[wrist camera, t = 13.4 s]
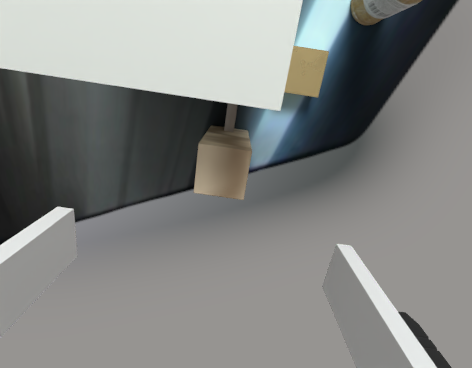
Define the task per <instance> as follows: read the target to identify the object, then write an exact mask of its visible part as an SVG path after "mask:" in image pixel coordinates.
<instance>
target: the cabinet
mask: <svg viewBox="0 0 472 368" xmlns="http://www.w3.org/2000/svg"><path fill="white" fill-rule="evenodd" d="M302 1H303V0H0V68H4V69H10V70H17V71H23V72H30V73H36V74H43V75H49V76H56V77H62V78H69V79H75V80H82V81H88V82H95V83H101V84H108V85H114V86H121V87H127V88H134V89H140V90H147V91H153V92H160V93H166V94H173V95H179V96H186V97H192V98H199V99H205V100H212V101H218V102H225V103H231V104H238V105H244V106H251V107H257V108H264V109H270V110H277V111H281V106H282V101H283V96H284V91H285V86H286V81H287V76H288V71H289V66H290V61H291V56H292V51H293V46H294V41H295V36H296V31H297V26H298V21H299V16H300V11H301V6H302Z"/></svg>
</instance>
